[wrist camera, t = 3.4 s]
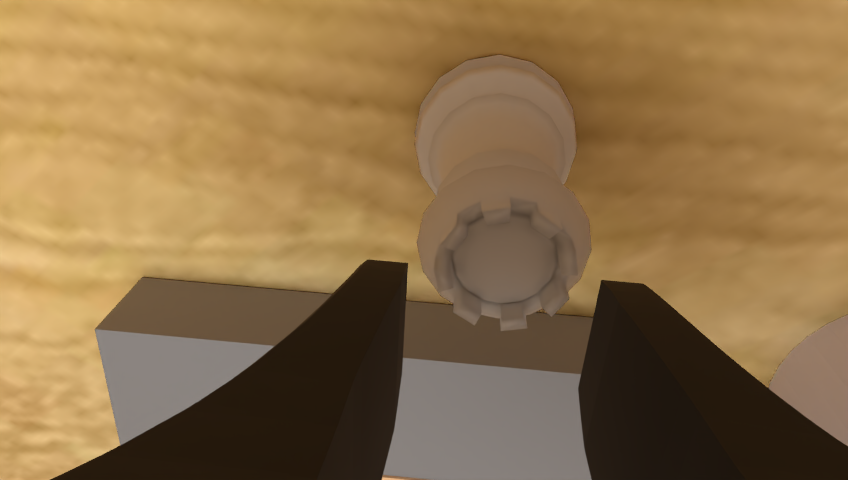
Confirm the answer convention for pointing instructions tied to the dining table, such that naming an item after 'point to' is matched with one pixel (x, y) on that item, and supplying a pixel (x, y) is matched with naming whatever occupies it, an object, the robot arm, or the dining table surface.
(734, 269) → the dining table surface
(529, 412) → the grey flat square slab
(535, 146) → the rook chess piece
